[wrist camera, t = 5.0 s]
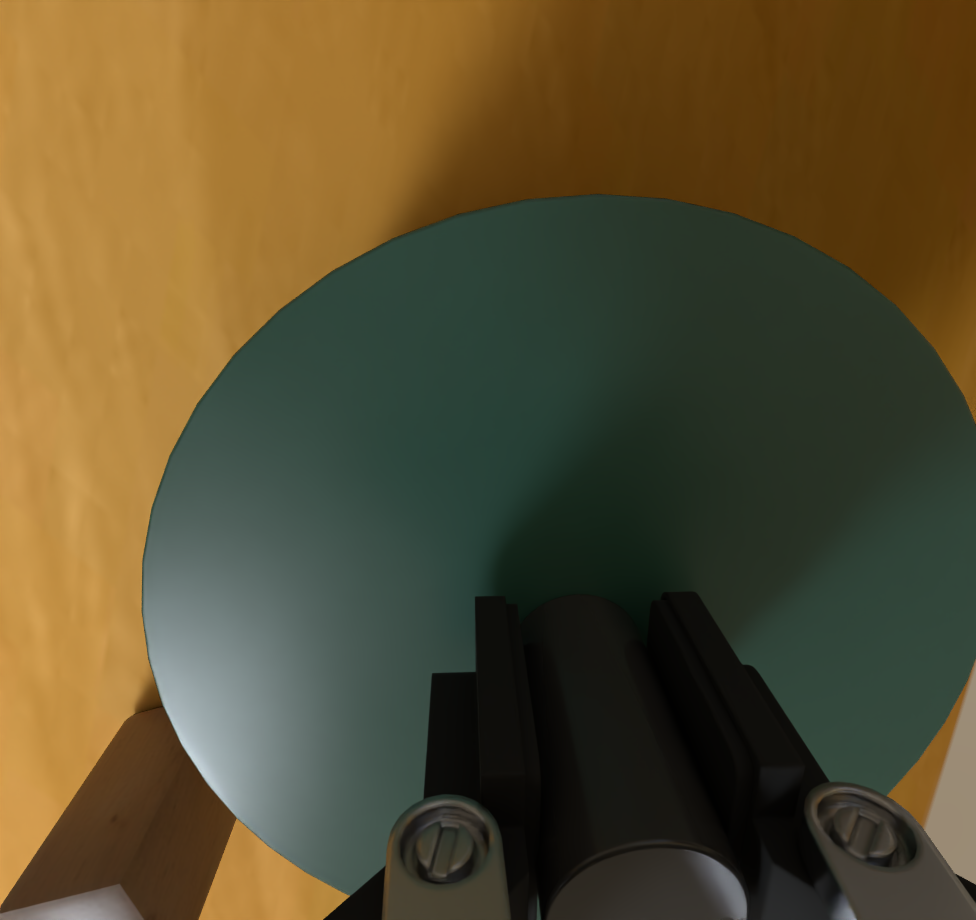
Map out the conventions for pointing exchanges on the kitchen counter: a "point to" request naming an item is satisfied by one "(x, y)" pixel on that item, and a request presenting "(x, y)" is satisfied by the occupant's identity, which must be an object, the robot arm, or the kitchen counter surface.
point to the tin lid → (562, 532)
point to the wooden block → (129, 837)
